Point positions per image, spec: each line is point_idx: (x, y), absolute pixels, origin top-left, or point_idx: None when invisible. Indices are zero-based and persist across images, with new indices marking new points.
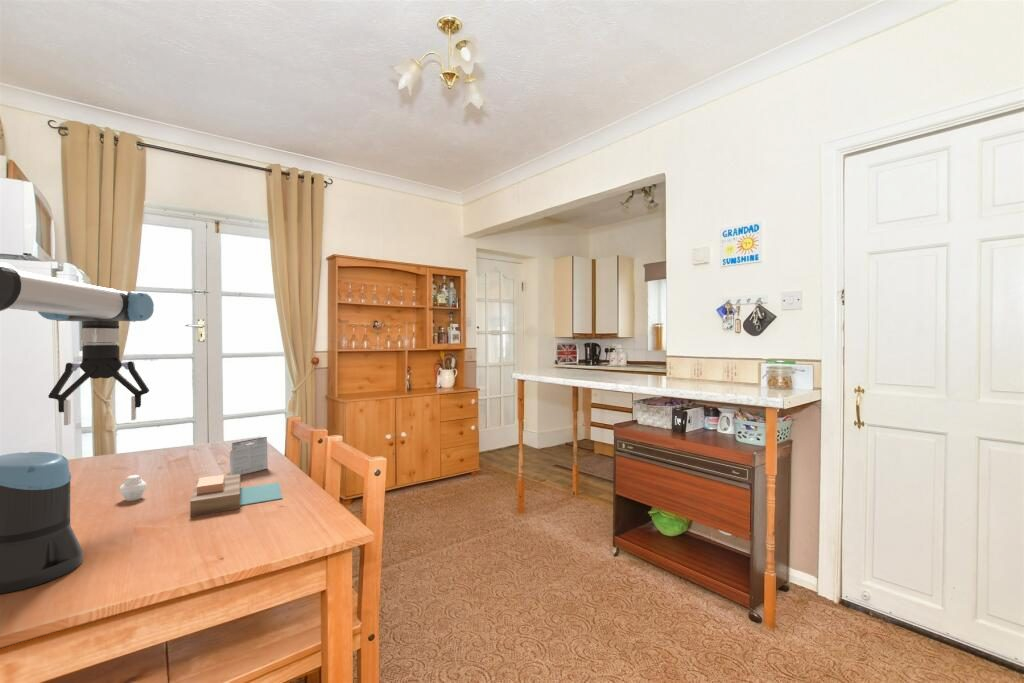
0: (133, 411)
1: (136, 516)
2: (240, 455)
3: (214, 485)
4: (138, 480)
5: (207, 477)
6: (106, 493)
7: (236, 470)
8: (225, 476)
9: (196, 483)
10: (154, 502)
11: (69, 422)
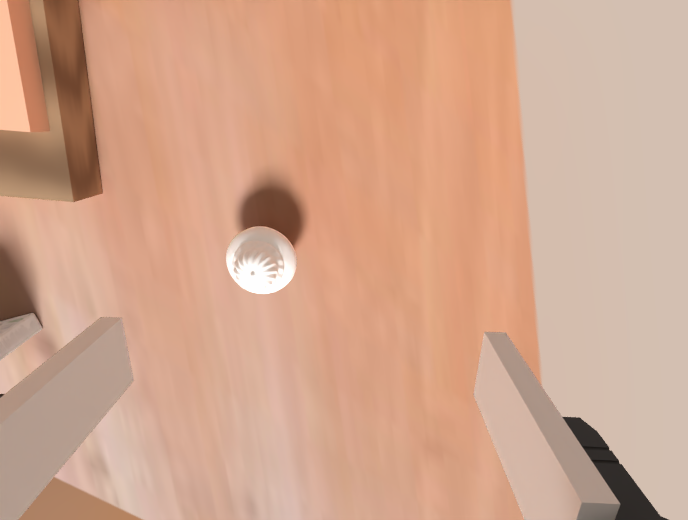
0: (63, 357)
1: (232, 53)
2: None
3: None
4: (240, 255)
5: (2, 119)
6: (343, 344)
7: (10, 324)
8: None
9: (65, 156)
10: (207, 174)
11: (481, 377)
